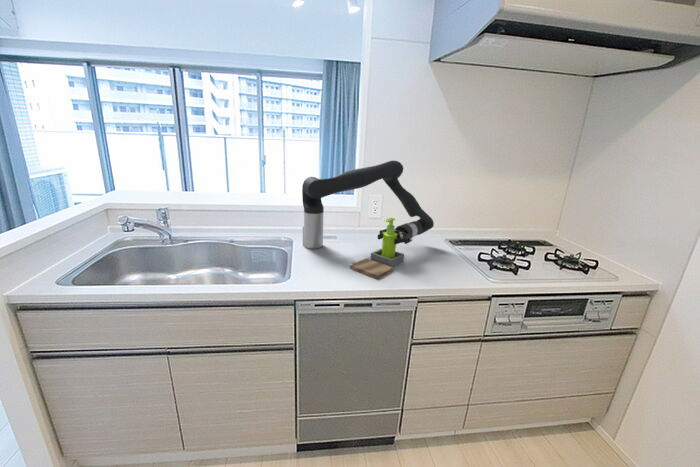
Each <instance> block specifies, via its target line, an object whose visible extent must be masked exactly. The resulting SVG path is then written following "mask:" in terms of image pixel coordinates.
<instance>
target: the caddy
mask: <svg viewBox="0 0 700 467" xmlns="http://www.w3.org/2000/svg"><path fill="white" fill-rule="evenodd" d="M381 255H382V248H379V249H378V250H375V251H373V252H370V258H369V259H370V260H373V261H376V262H379V263H382V264H384V265H387V266H390V267H393V269H394V268H396V267H398V266H400V265H402V264H404V262H405V253H403V252H399V251H396V250H395V257H394V258H392V259H390V258H387V257H384V256H381Z"/></svg>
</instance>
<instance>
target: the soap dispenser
mask: <svg viewBox="0 0 700 467" xmlns="http://www.w3.org/2000/svg"><path fill="white" fill-rule="evenodd" d="M395 220H396V218H394V217H387V218H385V219H384V222H385V223H388V225H386V229H387V230H386V232H384V233H383V238H382V244H381V246H382V247H381V249H382V255H381V256H384V257H387V258H390V259H392V258H394V257H395V251H396V250H397V244H394V240H395V239H397V234H396V233H394V230H395V228H396V227H395V225H394V221H395Z"/></svg>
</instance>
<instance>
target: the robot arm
mask: <svg viewBox="0 0 700 467" xmlns="http://www.w3.org/2000/svg"><path fill="white" fill-rule="evenodd" d="M403 172H404V166H403V164H402V163H401V162H400V161H398V160H389V161H386V162H383V163H380V164H377V165H372V166H366V167H365V166H364V167H362V168H355V169H350V170H347V171H344V172H342V173H340V174H339V175H337V176H334V177H329V178H317V177H315V176H309V177H307V178H305V179H304V180H303V182H302V188H301V189H302V190H301V191H302V192H301V193H302V195H301V196H302V206H303V225H302V245H303V246H304V248H307V249H311V250H315V249H321V248H322V247H323V246H324V211H325V210H324V205H323V203H322V202H323V201H322V198H324V197H327V196H331V195H334V194H337V193H342V192H347V191H348V192H349V191H353V190H357V189H361V188H364V187H368V186H369V185H371V184H373V183H375V182H377V181H379V180H383V182H384V183H385V184H386V185H387V187H388V188H389V189H390V190H391V191H392V192H393V194H394V195H395V196H396V198H397V199H398V201H400V203H401V205H402V206H403V208H404V209H405V210H406V211H405V212H406V213H407V214H408V216H409V217H410V218H414V217H418V218H419V219H417V220H413V221H410V222H407V223H403V224H400V225H397V226H396V227H395V229H394V233H396V234H397V239H395V240H394V244H396V245H399V244H405V245H407V244H409V243H411V242H413V238H414V237H416V236H420V235H422V234H424V233H426V232H428V231H429V230H431V229H432V228H433V227H434V223H435V222H434V220H433V218H432V217H431V216H429V214H428V213H426V211H425V210H424V209H423V208H422V207H421V206H420V203H419V202H418V200H417V199H416V198H415V196H414V195H413V194H412V193H411V192H409V191H408V190H406V189H405V187H403V186H402V184H401V183H400V181H399V178H400V177H401V175H402V174H403ZM386 230H387V228H384V229H380V230H379V233H378V234H377V240H383V233H384V232H386Z"/></svg>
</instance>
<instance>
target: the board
mask: <svg viewBox="0 0 700 467" xmlns="http://www.w3.org/2000/svg"><path fill="white" fill-rule="evenodd" d="M349 269H350V270H353V271H356V272H358V273H359V274H360V273H361V274H362V275H365V276H368V277H371V278H373V279H376V280H379V279H381V278H383V277H384V276H386V275H388V274H390V273H392V272H393V271H394V268H393V267H390V266H387V265H384V264H382V263H379V262H376V261H373V260H370V258H367V257H366V258H364V259H361V260H359V261H357V262H354V263H352V264H350V265H349Z"/></svg>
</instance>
